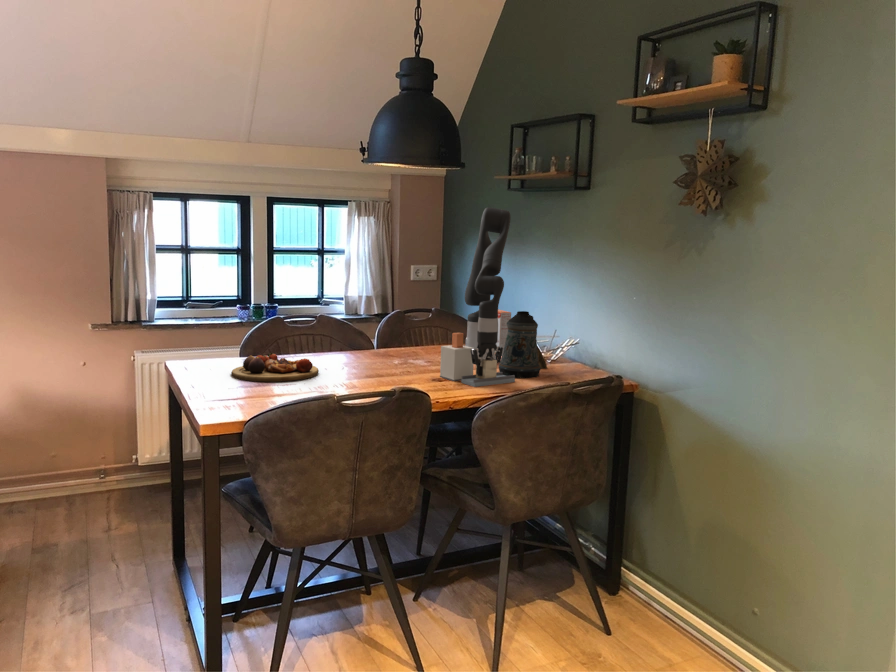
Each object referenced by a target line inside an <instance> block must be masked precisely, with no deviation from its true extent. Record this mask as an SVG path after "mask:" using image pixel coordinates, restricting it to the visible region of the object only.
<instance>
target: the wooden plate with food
mask: <svg viewBox="0 0 896 672" xmlns="http://www.w3.org/2000/svg"><path fill="white" fill-rule="evenodd" d="M278 357H279V356H277V354H275V353H273V352H270V353H268V354H267V355H266V354H258V355H256V356H253V355H252V354H251V355H250V354H249V356H247V357H246V358H245V359H244V360H243V362H242V366H238V367H235V368H234V369H232V370H231V376H232V377H233V378H234V379H238V380H241V381H247V382H248V381H249V382H265V383H267V382H268V383H270V382H272V383H273V382H274V383H275V382H276V383H278V382H292V381H299V380H305V379H309V378H312V377H316V376H317V375H318V374H319V368H318V367H317V366H314V365H313V363H312V361H311V360H310V359H308V358H301V359H297V360H289V359H288V360H287V358H285V357H284V358H283V357H281V358H279V359H278Z"/></svg>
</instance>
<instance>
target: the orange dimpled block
mask: <svg viewBox="0 0 896 672" xmlns="http://www.w3.org/2000/svg"><path fill="white" fill-rule="evenodd" d="M451 337H452V340H451V345H452V347H454V348H463V345H464V333H463V332H452V336H451Z"/></svg>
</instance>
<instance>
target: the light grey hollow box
mask: <svg viewBox="0 0 896 672" xmlns="http://www.w3.org/2000/svg"><path fill="white" fill-rule="evenodd" d="M471 349H474V348H472V347H468V346H466V345H464V344H463V348H454V347H452V344H451V345H449V344H448V345H441V346H440V369H439V370H440V371H439V378H442V379H445V380H448V381H452V382H459V381H460V382H461V380H462V376H468V375H474V365H475V364H473V363H472V358H471V351H470V350H471Z"/></svg>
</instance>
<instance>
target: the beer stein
mask: <svg viewBox="0 0 896 672" xmlns="http://www.w3.org/2000/svg"><path fill="white" fill-rule="evenodd" d="M538 326H539V324H538V323H537V321H536V320H535V319H534V316H533V315H531V314H530V312H529V311H526V310H523V311H520V310H518V311H517V312H516V313H515V315H514V316H511V319H510V320H509V321H508V322H507V328H508V332H507V337H506V342H505V347H504V351H503V355H502V358H501V361H500V363H498V370H499V371H498V372H503V375H505V376H511V375H515V379H533V378H538V377H539V375H540V371H541V368H540V365H539V361H538V353H537V346H538V342H537V336H538V328H539V327H538Z"/></svg>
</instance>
